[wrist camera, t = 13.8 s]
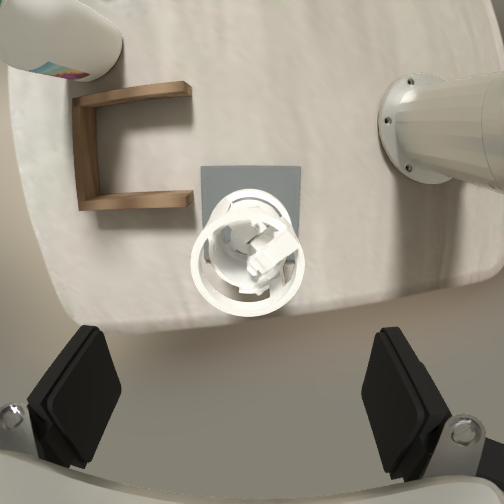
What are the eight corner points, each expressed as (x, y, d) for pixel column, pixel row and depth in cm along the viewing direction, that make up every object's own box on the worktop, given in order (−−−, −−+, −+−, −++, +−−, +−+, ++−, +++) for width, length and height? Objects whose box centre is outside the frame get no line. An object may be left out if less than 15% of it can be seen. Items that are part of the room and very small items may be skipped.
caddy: (191, 86, 28) (183, 80, 25) (193, 199, 33) (186, 207, 29) (88, 100, 29) (72, 98, 25) (93, 203, 33) (78, 210, 30)
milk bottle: (102, 10, 24) (-8, -54, 6) (137, 47, 27) (21, -19, 8) (57, 57, 26) (-69, 33, 8) (87, 95, 28) (-51, 85, 10)
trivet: (299, 166, 31) (300, 167, 31) (296, 258, 35) (296, 260, 34) (201, 166, 31) (200, 166, 31) (205, 257, 35) (204, 259, 34)
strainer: (299, 218, 33) (330, 282, 19) (247, 259, 34) (240, 344, 20) (255, 166, 31) (254, 190, 17) (202, 210, 32) (163, 268, 18)
